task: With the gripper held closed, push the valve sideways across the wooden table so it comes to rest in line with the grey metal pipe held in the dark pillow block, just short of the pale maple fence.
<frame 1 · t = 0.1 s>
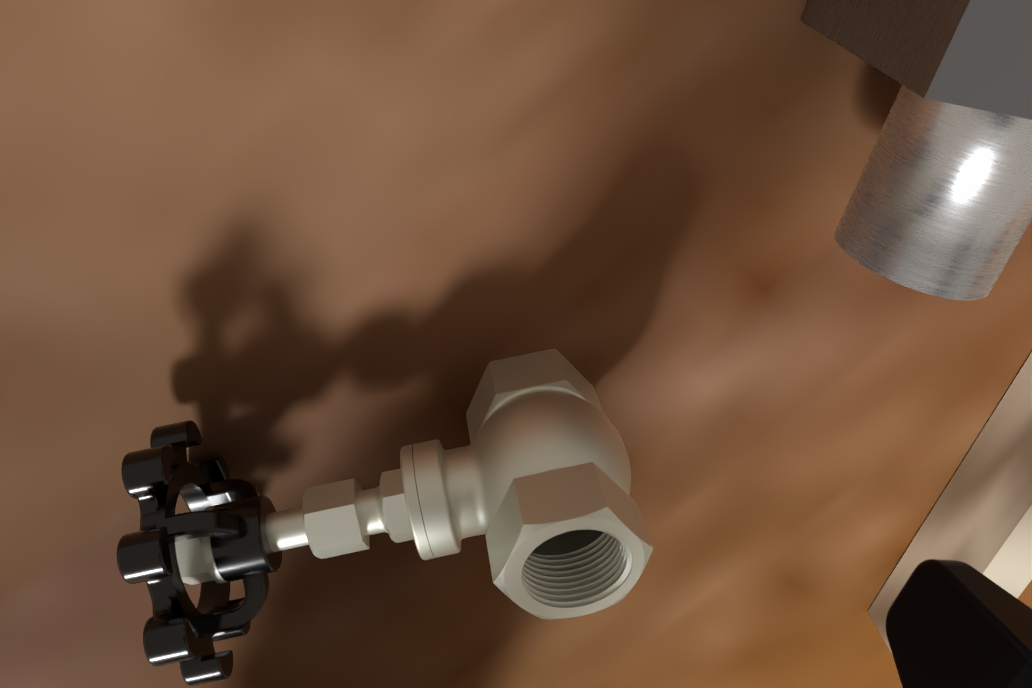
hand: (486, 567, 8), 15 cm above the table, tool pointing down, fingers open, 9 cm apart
valve: (397, 420, 26), on the table
fence: (1008, 430, 29), on the table
pipe stand: (911, 44, 21), on the table
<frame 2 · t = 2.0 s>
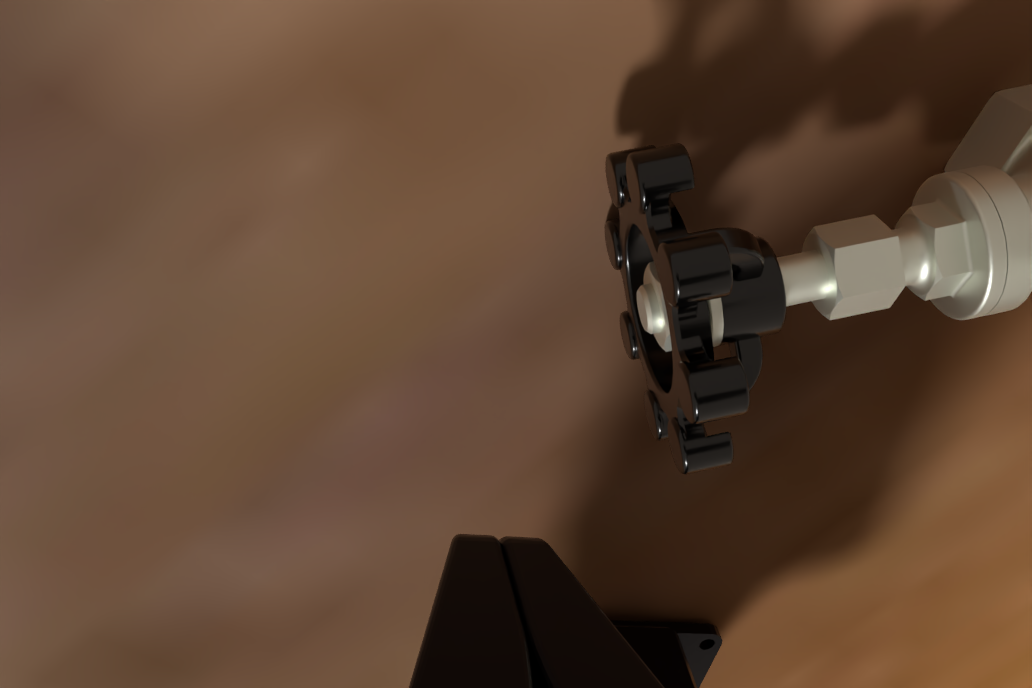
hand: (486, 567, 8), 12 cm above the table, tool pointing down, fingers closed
valve: (853, 180, 21), on the table
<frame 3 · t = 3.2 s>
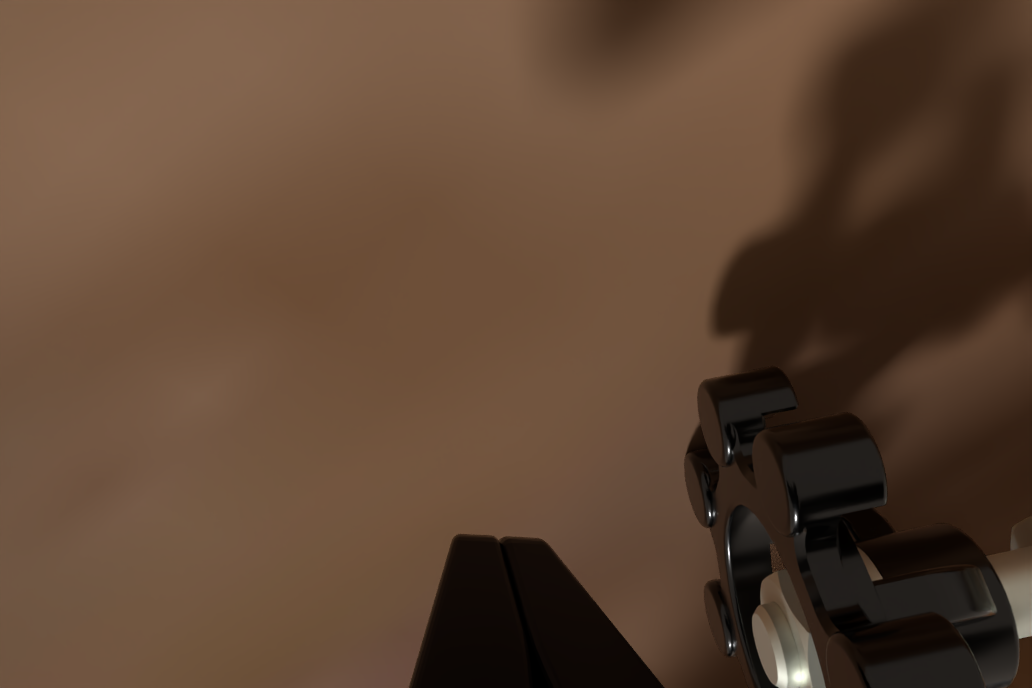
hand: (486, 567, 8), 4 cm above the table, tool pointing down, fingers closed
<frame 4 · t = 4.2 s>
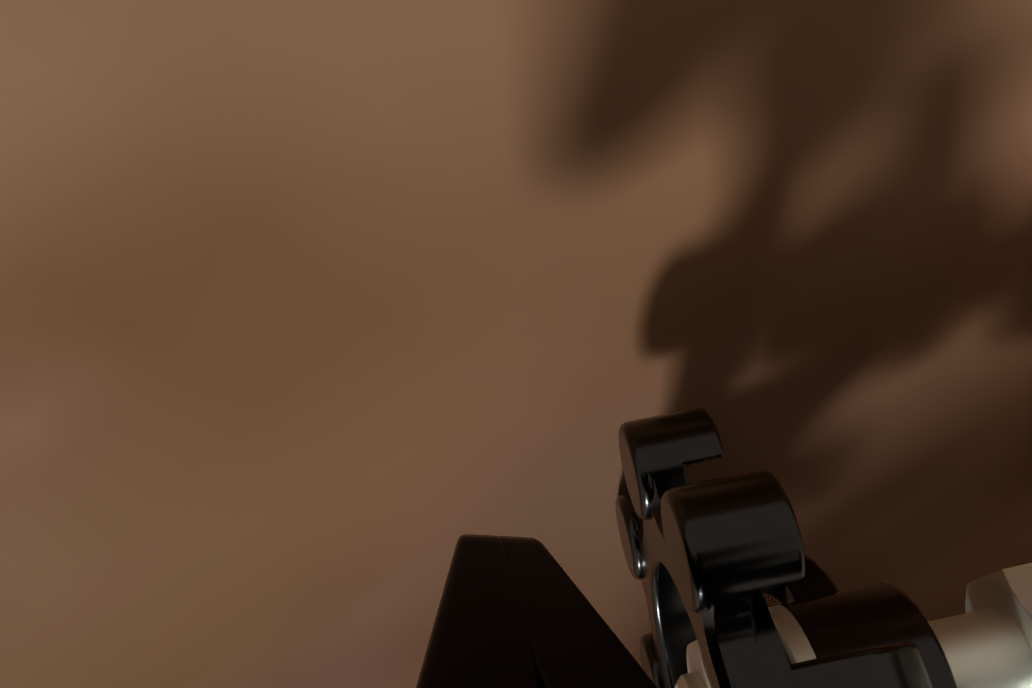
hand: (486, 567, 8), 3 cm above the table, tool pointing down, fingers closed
valve: (1022, 412, 13), on the table, touching gripper
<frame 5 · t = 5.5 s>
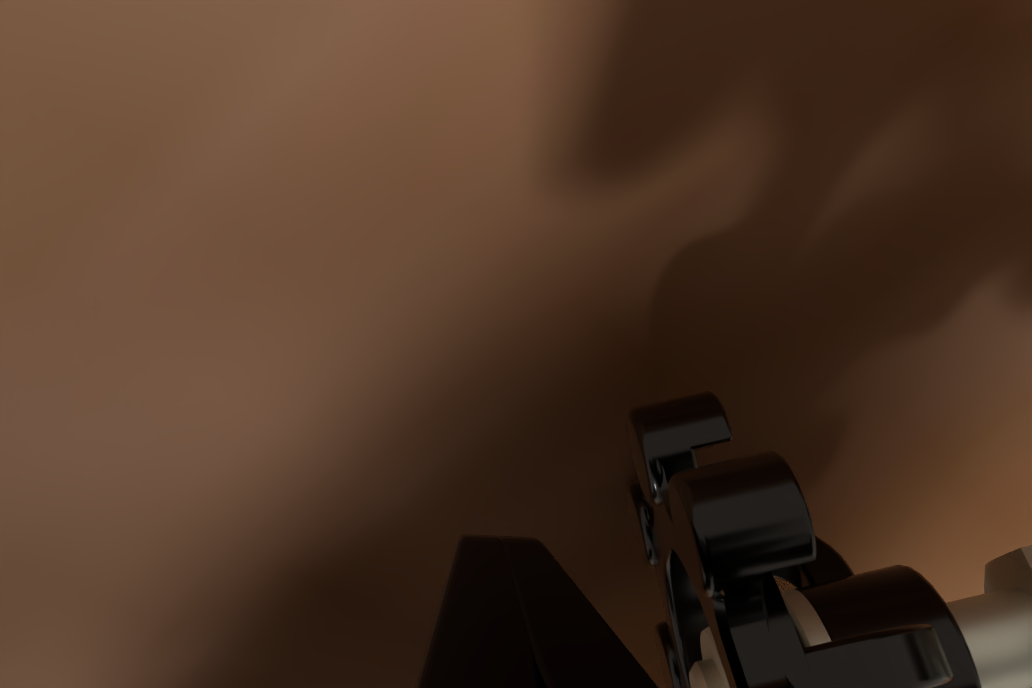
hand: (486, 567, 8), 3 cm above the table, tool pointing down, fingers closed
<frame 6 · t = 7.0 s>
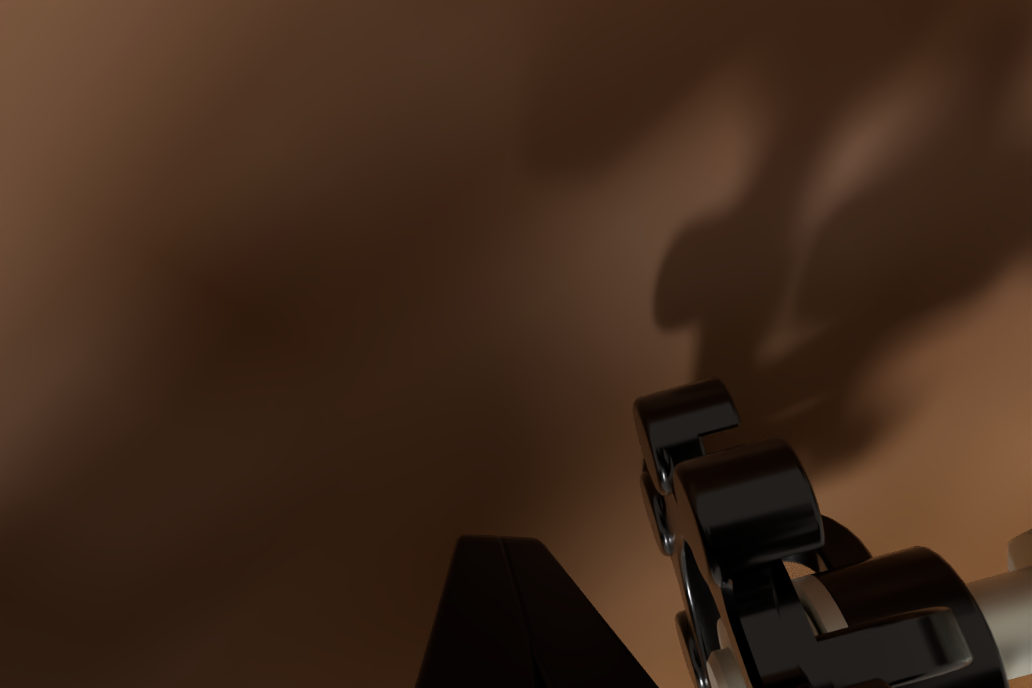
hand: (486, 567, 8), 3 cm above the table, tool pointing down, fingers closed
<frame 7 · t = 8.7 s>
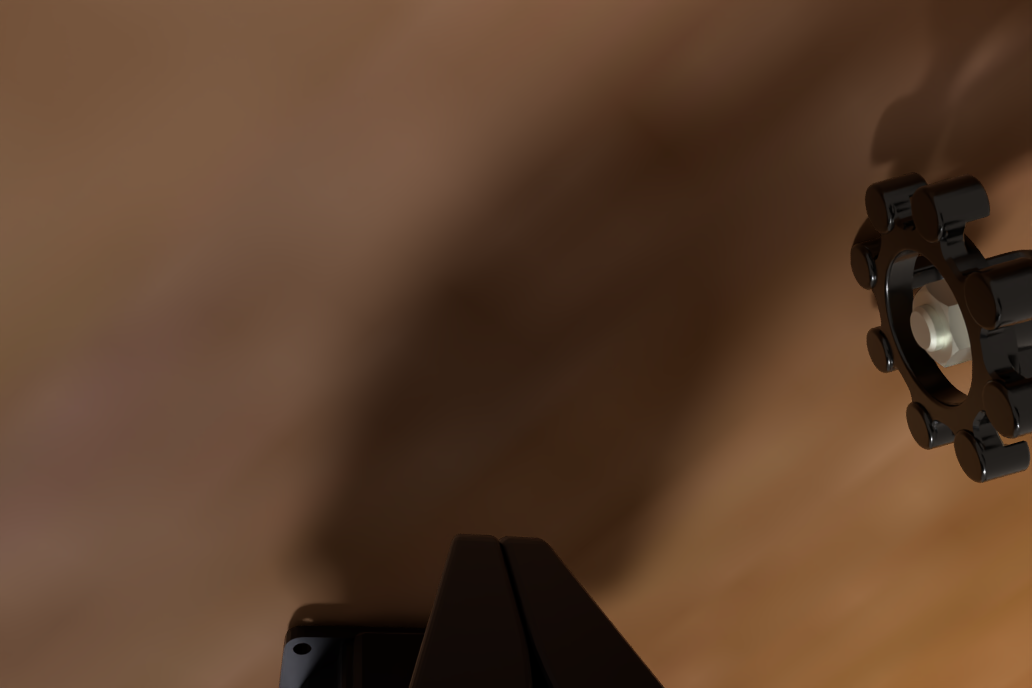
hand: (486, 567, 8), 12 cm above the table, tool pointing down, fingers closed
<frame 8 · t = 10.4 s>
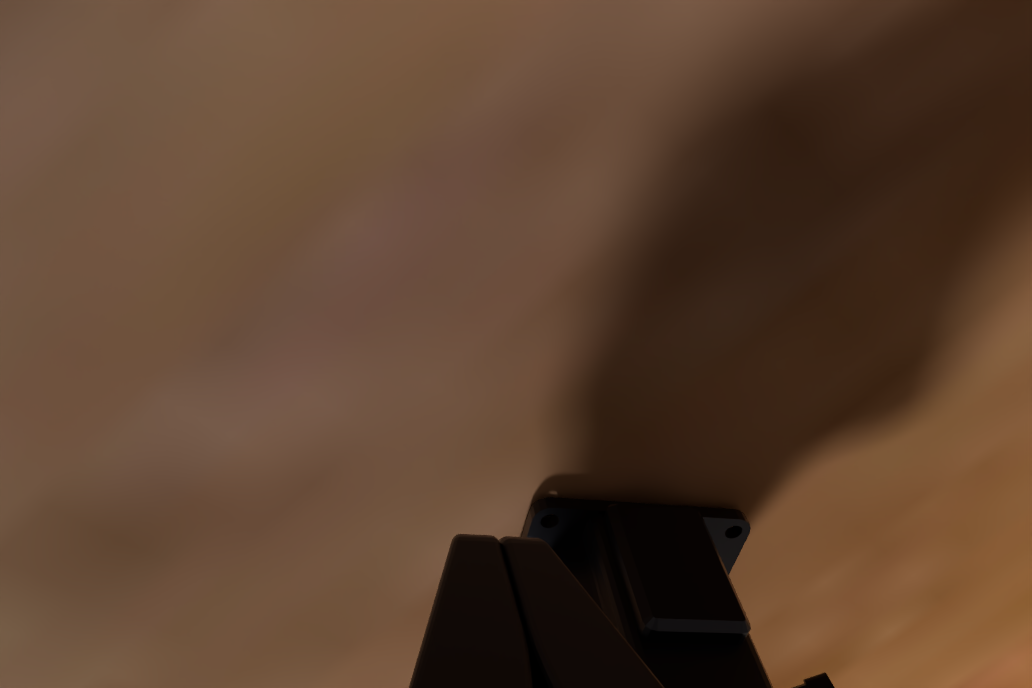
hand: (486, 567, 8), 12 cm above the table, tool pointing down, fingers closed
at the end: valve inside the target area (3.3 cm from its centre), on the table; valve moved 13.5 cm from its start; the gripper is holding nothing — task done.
